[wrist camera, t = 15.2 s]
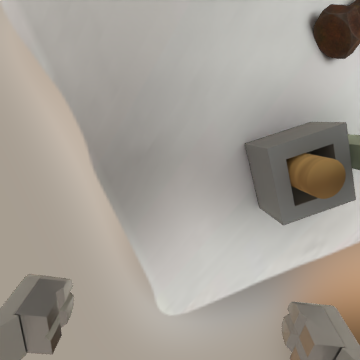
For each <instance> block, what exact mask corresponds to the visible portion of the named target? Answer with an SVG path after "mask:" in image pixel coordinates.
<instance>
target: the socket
mask: <svg viewBox="0 0 360 360" xmlns="http://www.w3.org/2000/svg"><path fill="white" fill-rule="evenodd" d="M245 147H246V151H247V156H248V160H249V164H250V169H251V173H252V177H253V181H254V186H255V190H256V194H257V199H258V203H259V207H260V208H261V209H262V210H263V211H265V212H266V213H267V214H269V215H270V216H271V217H273V218H274V219H275V220H277V221H278V222H280V223H281V224H282V225H286V224H289V223H291V222H294V221H297V220H300V219H303V218H305V217H308V216H311V215H314V214H317V213H320V212H322V211H325V210H328V209H331V208H334V207H337V206H339V205H342V204H345V203H348V202H351V201H354V200H356V197H355V189H354V181H353V173H352V165H351V157H350V148H349V140H348V132H347V124H346V122H309V123H306V124H303V125H300V126H297V127H294V128H291V129H288V130H285V131H282V132H279V133H276V134H272V135H269V136H266V137H263V138H260V139H257V140H254V141H251V142H248V143H245ZM304 153H308V154H312V155H317V156H322V157H327V158H332V159H336V160H338V161H339V162H340V163H341V164H342V165H343V166H344V169H345V173H346V178H345V182H344V185H343V187H342V188H341V190H340V191H339V192H338V193H337V194H336V195H334V196H332V197H330V198H327V199H320V198H317V197H315V196H312V195H310V194H308V193H306V192H303V191H301V190H299V189H297V188H295V187H292V186H291V183H290V178H289V173H288V167H287V162H286V159H289V158H292V157H295V156H298V155H301V154H304Z"/></svg>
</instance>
